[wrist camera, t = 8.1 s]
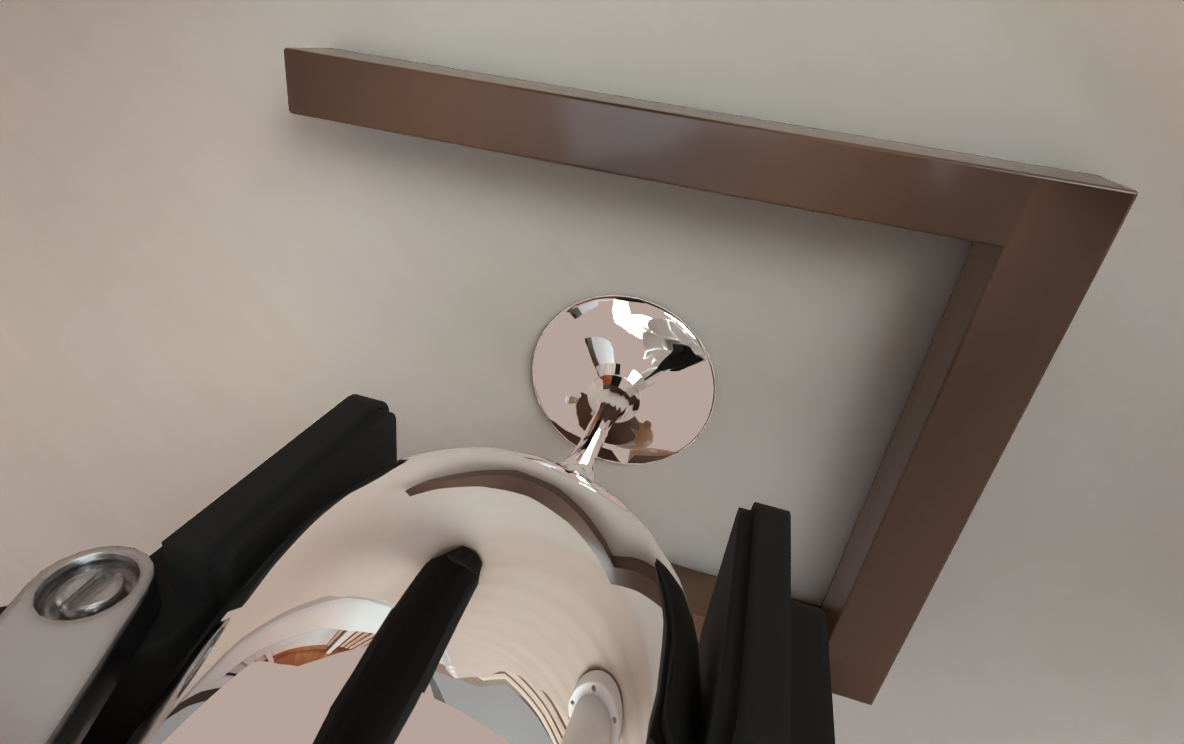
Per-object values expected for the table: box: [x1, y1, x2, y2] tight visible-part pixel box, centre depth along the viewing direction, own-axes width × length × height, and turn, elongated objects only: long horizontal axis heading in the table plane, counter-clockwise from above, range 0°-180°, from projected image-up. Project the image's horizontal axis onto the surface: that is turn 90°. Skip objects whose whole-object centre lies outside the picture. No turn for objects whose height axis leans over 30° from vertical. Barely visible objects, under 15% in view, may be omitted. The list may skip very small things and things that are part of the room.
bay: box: [284, 48, 1138, 705], centre depth 15 cm, size 15×12×2 cm
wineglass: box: [123, 294, 716, 744], centre depth 10 cm, size 6×6×12 cm
